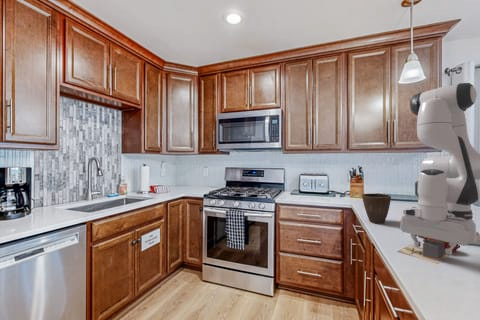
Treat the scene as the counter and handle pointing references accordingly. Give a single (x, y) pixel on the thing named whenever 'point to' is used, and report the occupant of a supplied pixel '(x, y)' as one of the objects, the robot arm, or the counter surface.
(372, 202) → the plant pot
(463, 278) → the counter surface
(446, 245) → the dragon fruit
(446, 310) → the counter surface
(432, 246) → the block
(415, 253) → the pine board
